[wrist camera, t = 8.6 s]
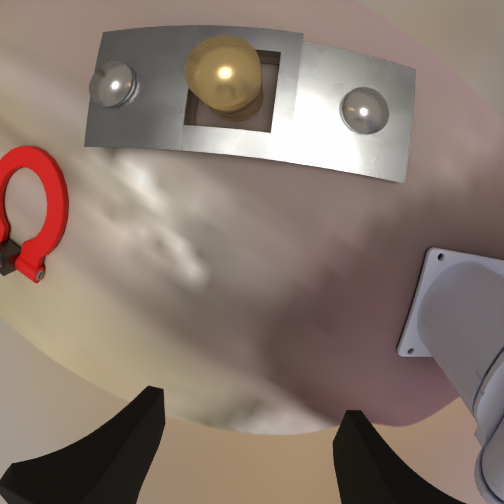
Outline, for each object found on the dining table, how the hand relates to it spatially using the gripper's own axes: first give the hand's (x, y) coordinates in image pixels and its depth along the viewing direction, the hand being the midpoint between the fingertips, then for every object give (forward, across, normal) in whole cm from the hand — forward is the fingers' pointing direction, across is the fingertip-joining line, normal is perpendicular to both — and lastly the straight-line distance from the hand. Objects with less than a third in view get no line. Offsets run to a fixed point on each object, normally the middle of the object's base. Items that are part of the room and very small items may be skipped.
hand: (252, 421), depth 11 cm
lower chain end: (+9, 0, -13) cm, 16 cm away
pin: (+9, +3, -13) cm, 16 cm away
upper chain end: (+9, +5, -13) cm, 17 cm away
